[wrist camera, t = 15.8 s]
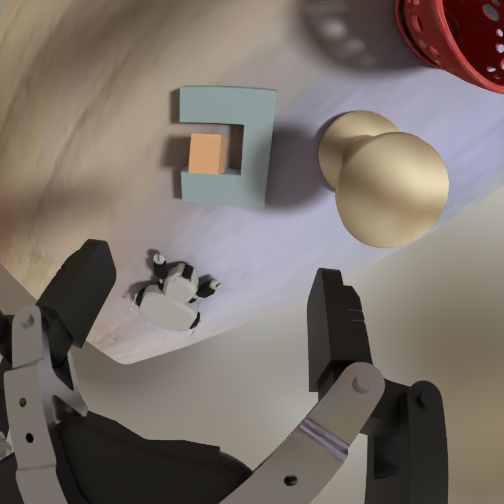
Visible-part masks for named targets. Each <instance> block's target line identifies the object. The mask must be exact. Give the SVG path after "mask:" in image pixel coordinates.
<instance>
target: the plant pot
mask: <svg viewBox="0 0 504 504" xmlns="http://www.w3.org/2000/svg"><path fill="white" fill-rule="evenodd" d="M498 1H499V3H500V5H497V4H496V3H495V2H494V0H395V6H394V12H395V19H396V23H397V26H398V28H399V31H400V33H401V35H402V37H403V39H404V40H405V42H406V43H407V44H408V46H409V47H410V48H411V50H412V51H413V52H414V53H415V54H416V55H417V56H418V57H419V58H421V59H422V60H423V61H424V62H426V63H428V64H429V65H431V66H433V67H435V68H438V69H441V70H446V71H447V72H449V73H451V74H453V75H455V76H457V77H459V78H460V79H462V80H464V81H466V82H468V83H471V84H474V85H476V86H478V87H481V88H484V89H486V90H490V91H492V92H496V93H500V94H504V70H503V69H502V67H503V64H504V52H502V53H499V51H498V46H499V45H500V44H502V45H503V46H504V0H498ZM485 4H489V5H491V6H492V7H493V8H494V9H495V10H496V11H497V13H498V15H499V20H498V21H494V20H492V19H491V18H490V17H489V16H488V15H487V13H486V12H485V9H484V5H485ZM498 29H500V30H501V31H502V32H503V36H502V37H500V36H499V34H498ZM491 68H495V69H496V70H495V71H493V72H489V71H488V70H489V69H491ZM497 78H499V79H497Z"/></svg>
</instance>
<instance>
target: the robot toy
mask: <svg viewBox="0 0 504 504" xmlns="http://www.w3.org/2000/svg"><path fill="white" fill-rule="evenodd" d="M153 260H154V261H155V262H154V272H155V275H156V276H157V277H158V278H159V279H160V281H159V282H158V285H149V286H148V287H147V288H142V289H141V290H140V291H139V293H138V292H137V293H136V295H135V299H134V302H133V305H134V303H135V300H136V302H137V305H138V306H139V311H140V312H141V313H142V315H143V316H144V317H146V318H147V319H148V320H150V321H151V322H153V323H155V324H157V325H159V326H161V327H164V328H167V329H170V330H174V331H179V332H181V331H187V330H188V329H192V328H194V327H195V326H196V327H195V329H194V331H193V332H192V334H191V337H192V336H193V334H194V332H195V330H196V328H197V326H198V325H199V324H200V322H201V321H200V313H199V312H198V306H197V305H196V303H195V301H196V298H197V297H202V298H206V297H208V296H210V295H212V294H214V292H215V290H218V289H220V288H221V287H222V284H221V283H219V281H218V280H216V279H215V280H212V281H211V282H210V281H207V282H206V283H204V284H202V285H201V286H200V287H199V289H198V290H197V287H198V282H199V279H198V277H197V276H198V271H197V270H196V269H195V268H194V270H193V267H192V266H190V265H186V266H185V263H180V264H179V265H177V266H176V267H173V268H171V269H170V270H169V272H168V275H167V277H166V280H164V277H165V276H166V273H167V266H166V261H165V258H164V255H163V254H160V255H159V257H158V253H156V254H154V256H153ZM184 267H185V268H184ZM196 290H197V292H196ZM136 297H137V298H136ZM133 305H132V307H131V311H132V309H133Z"/></svg>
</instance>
